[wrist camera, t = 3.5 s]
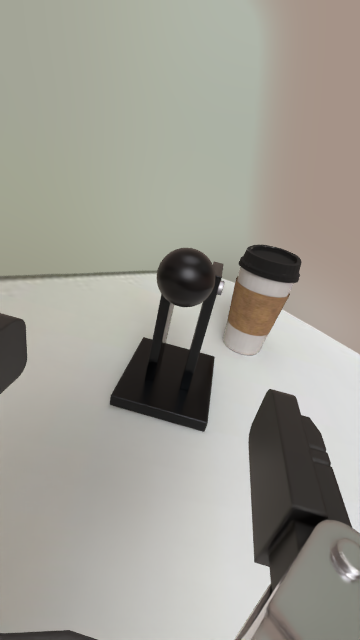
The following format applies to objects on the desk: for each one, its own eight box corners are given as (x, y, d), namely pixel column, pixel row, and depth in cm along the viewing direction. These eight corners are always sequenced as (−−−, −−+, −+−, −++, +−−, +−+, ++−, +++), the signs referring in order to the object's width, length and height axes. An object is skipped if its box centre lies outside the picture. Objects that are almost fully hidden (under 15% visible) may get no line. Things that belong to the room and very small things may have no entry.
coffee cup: (273, 345, 48) (311, 258, 41) (257, 368, 42) (299, 268, 35) (227, 324, 51) (255, 240, 45) (206, 342, 45) (235, 245, 38)
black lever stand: (204, 432, 30) (251, 300, 23) (109, 404, 30) (127, 268, 23) (212, 364, 40) (246, 260, 33) (142, 344, 41) (160, 238, 34)
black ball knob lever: (206, 316, 17) (224, 253, 16) (145, 300, 17) (160, 236, 16) (205, 302, 31) (214, 268, 30) (172, 293, 31) (181, 259, 30)
